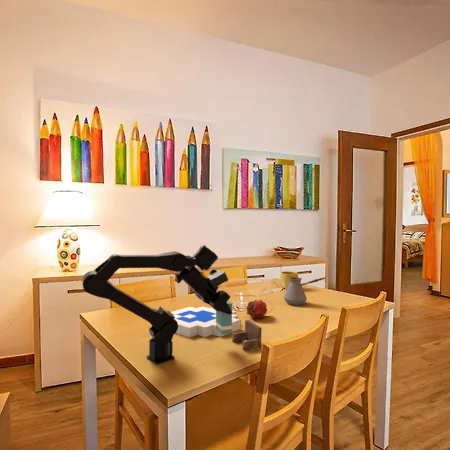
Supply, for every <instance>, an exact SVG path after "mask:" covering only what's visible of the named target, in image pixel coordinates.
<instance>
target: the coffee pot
mask: <svg viewBox="0 0 450 450" xmlns="http://www.w3.org/2000/svg"><path fill="white" fill-rule="evenodd" d="M289 279H290V284H289V286H288V288H287V290H286V291H285V293H284V295H283V299H284V302H286V304H287V305H290V306H302V305H304V304H305V302H306V301H307V296H306V293H305V291H304V289H303V286H305V285H309V284H313V283H317V282H319V281H324V282H327V278H326V277H325V276H324V277H319V278H316V279H313V280H309V281H307V282H304V283H301V281H302V280H303V279H302V277H299V276H298V277H290V278H289Z"/></svg>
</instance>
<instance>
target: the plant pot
mask: <svg viewBox="0 0 450 450" xmlns="http://www.w3.org/2000/svg"><path fill="white" fill-rule="evenodd" d="M290 277H298V278H299V272H296V271H289V270H286V271H285V270H283V271H280V279H281V283H282V284H281V285H282V288H283V287H284V288H285V289H284V290H286V291H287V288H288V286H289V284H290V279H289V278H290Z"/></svg>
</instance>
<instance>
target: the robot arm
mask: <svg viewBox="0 0 450 450" xmlns="http://www.w3.org/2000/svg"><path fill="white" fill-rule="evenodd" d="M218 259H219V256H218V255H217V254H216V252H214V251H213V250H211V249H210V248H209V247H207V245H205V244H202V245H200V247H199V249H198V250H197V251H196V252H195V253H194V254H193V255H192V256H191V255H185V254H184V253H180V252H178V251H168V252H163V253H159V254H118V253H114V254H113V253H112V254H111V255H110V256H109V257H108V258H107V259H106V260H105V261H103V262H102V263H101V264H100V265H98V266H97V267H96V268H95V269H93V270H89V271H87V272H86V273H85V274H84V275H83V276H82V281H81V283H82V287H83V290H84V292H86V293H87V294H89V295H92V296H95V297H96V298H101V299H104V300H108V301H111V302H112V303H114V304H116V305H119V306H120V307H122V309H125V310H126V311H129V312H131V313H132V314H134V315H136V316H137V317H140V318H141V319H143V320H145V321H146V322H148V323H149V324H150V325H151V327H150V328H149V329H148V332H149V335H150V336H151V337H152V338H150V339H149V340H148V344H149V346H148V347H149V348H148V349H149V353H148V354H149V355H146V359H147V360H150V361H151V362H153V363H154V364H162V363H165V362H168V361H171V360H173V359H175V355H173V348H174V345H173V343H174V342H173V341H172V340H173V338H174V335H175V334H177V333H176V332H177V330H178V323H177V321H176V320H175V319H174V318H175V317H174V316H173V314H172V313H171V312H172V311H169V310H166V309H164V307H162V306H161V305H160V306H159V307H158V309H155V308H153V307H150V306H149V305H147V304H145V303H144V302H142V301H140V300H139V299H137V298H135V297H134V296H132V295H130V294H128V293H126V292H125V291H123V290H121V289H120V288H118V287H116V286H115V285H114V284H113V283H112V282H111V281H110V279H111V278H112V277H113V276H114V274H116V272H117V271H118V270H119V269H161V270H166V271H171V272H176V273H174V282H175V283H177V284H180V283H181V282H182V281H183V282H184V283H185V284H187V286H188V287H189V288H190V289H191V290H192V291H193V292H194V295H195V296H196V298H198V299H199V300H201V301H202V302H203V303H204V304H207V305H209V306H210V308H211V307H212V308H213V309H214V310H216V311H217V312H218V311H220V312H223V313H226V314H229V315H231V314H232V311H233V310H232V311H231V309H230V307H229V306H228V304H227V301H229V300H230V298H231V295H230V294H229V293H228V292H227V291H224V290H219V286H221V285H222V284H224V283H227V282H228V281H229V278H228V275H227V274H226V271H225V270H222V269H220V270H219V269H218V270H216V269H214V268H212V269H210V268H211V267H212V266H213V265H214V264H215V263H216V261H217V260H218ZM209 269H210V270H209ZM208 270H209V274H208V276H207V277H206V275H204V274H203V273H202V272H203V271H206V272H207V271H208ZM177 272H178V273H177Z"/></svg>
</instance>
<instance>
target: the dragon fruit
mask: <svg viewBox="0 0 450 450" xmlns="http://www.w3.org/2000/svg"><path fill="white" fill-rule="evenodd" d="M268 310H269V309H268V308H267V303H266V302H264V301H263V300H262V299H259V300H257V299H255V300H253V301H249V302H248V303H247V306H246V314H247V315H249V316H250V318H252V319H253V320H255V319H257V318H258V319H261V320H262V319H263V318H265V315H266V314H267V312H268Z"/></svg>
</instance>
